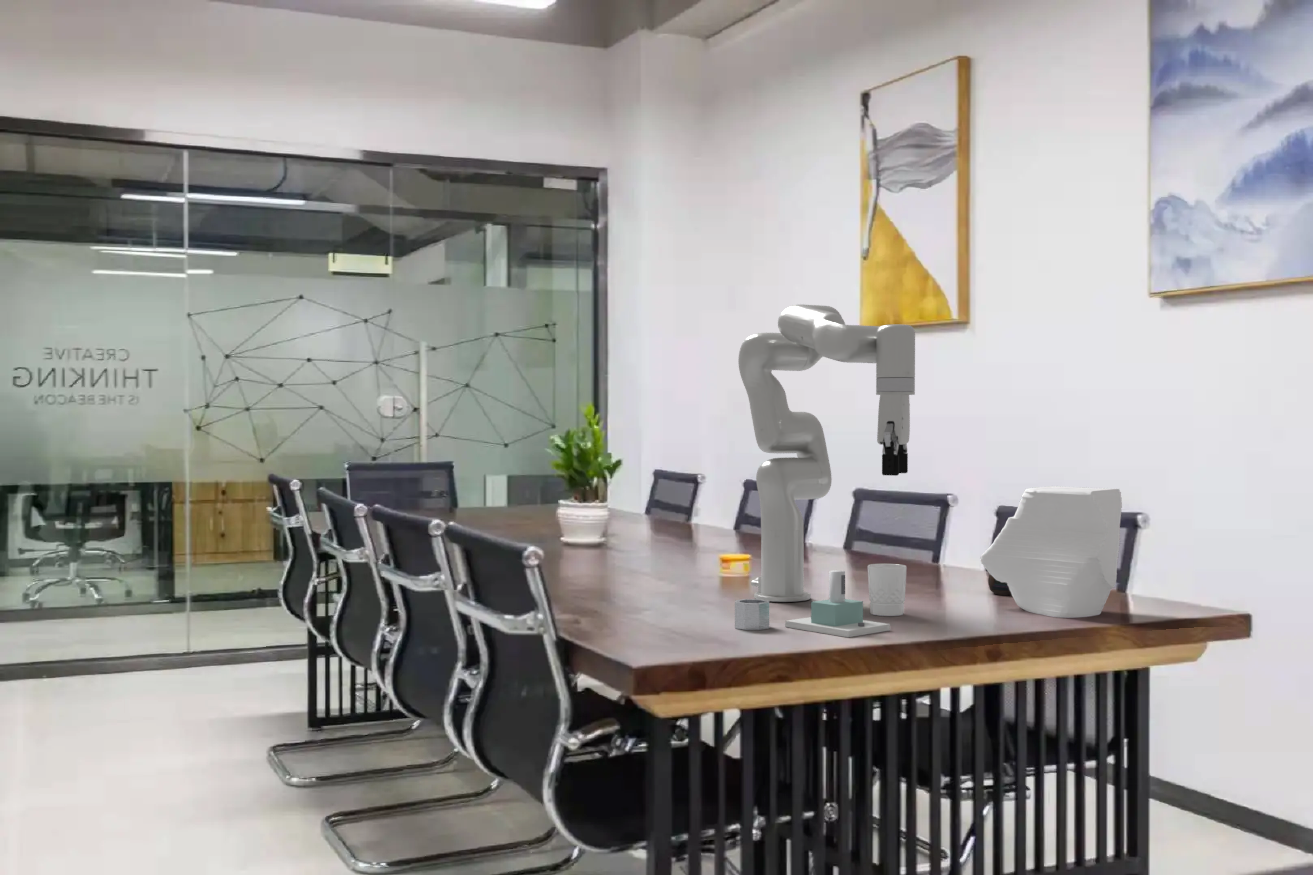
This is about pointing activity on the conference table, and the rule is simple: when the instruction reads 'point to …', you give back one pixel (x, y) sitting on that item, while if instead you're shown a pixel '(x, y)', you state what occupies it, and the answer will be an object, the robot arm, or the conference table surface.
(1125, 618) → the conference table surface
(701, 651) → the conference table surface
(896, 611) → the white cup
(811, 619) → the pedestal
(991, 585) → the mate gourd
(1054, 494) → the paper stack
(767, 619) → the grey hollow octagonal block
